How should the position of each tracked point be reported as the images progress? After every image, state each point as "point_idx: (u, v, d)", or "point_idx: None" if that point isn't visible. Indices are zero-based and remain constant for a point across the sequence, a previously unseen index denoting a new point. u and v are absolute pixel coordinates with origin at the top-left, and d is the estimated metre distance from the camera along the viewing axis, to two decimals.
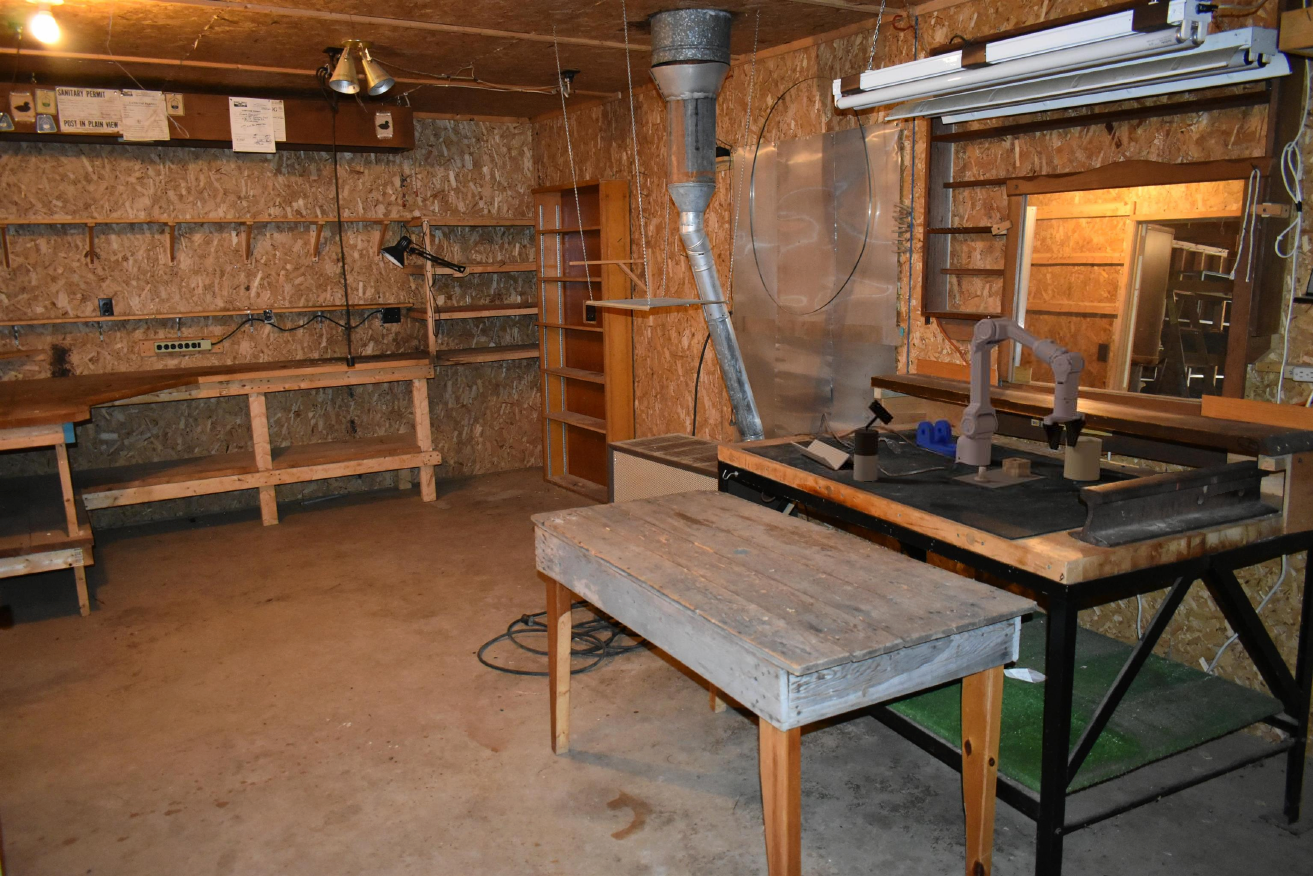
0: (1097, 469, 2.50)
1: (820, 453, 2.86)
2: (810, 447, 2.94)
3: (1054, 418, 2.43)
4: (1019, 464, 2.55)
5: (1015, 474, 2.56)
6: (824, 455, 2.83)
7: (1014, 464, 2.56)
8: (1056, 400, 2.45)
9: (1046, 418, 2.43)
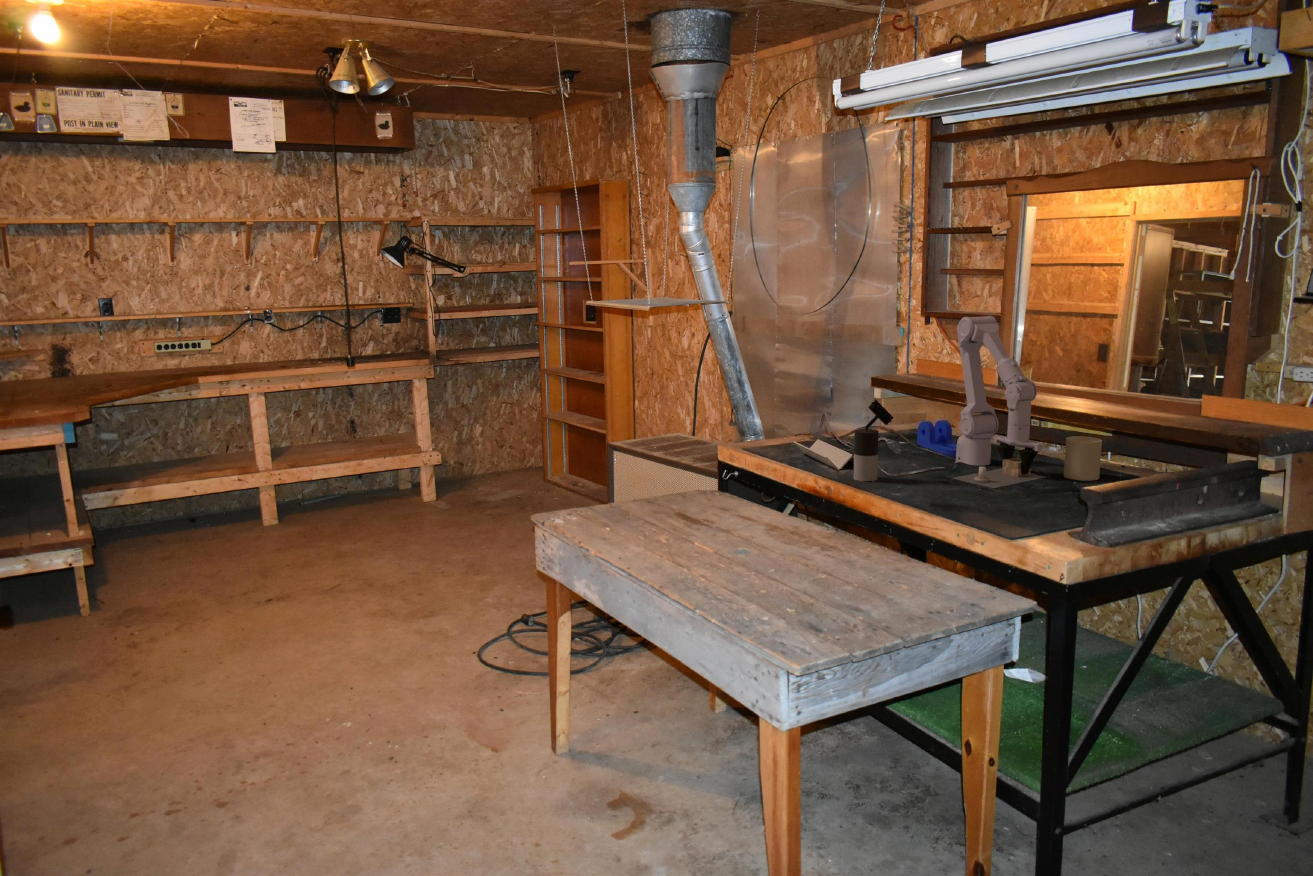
0: (1097, 469, 2.50)
1: (823, 453, 2.86)
2: (813, 447, 2.94)
3: (997, 438, 2.61)
4: (1019, 464, 2.55)
5: (1015, 474, 2.56)
6: (827, 455, 2.84)
7: (1014, 464, 2.56)
8: None
9: None
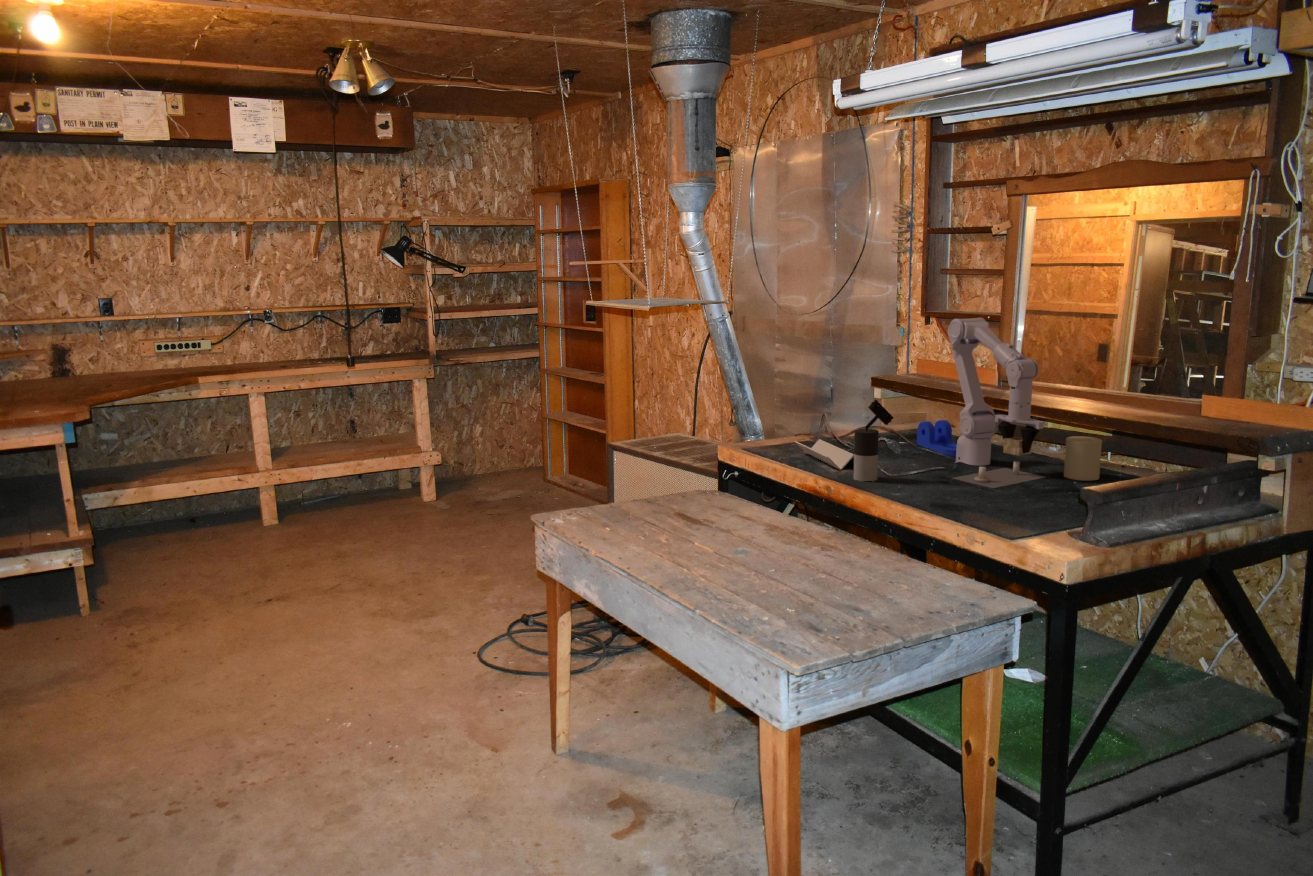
0: (1097, 469, 2.50)
1: (824, 453, 2.87)
2: (814, 447, 2.95)
3: (998, 417, 2.60)
4: (1020, 443, 2.54)
5: (1016, 453, 2.55)
6: (828, 455, 2.84)
7: (1015, 442, 2.54)
8: None
9: None
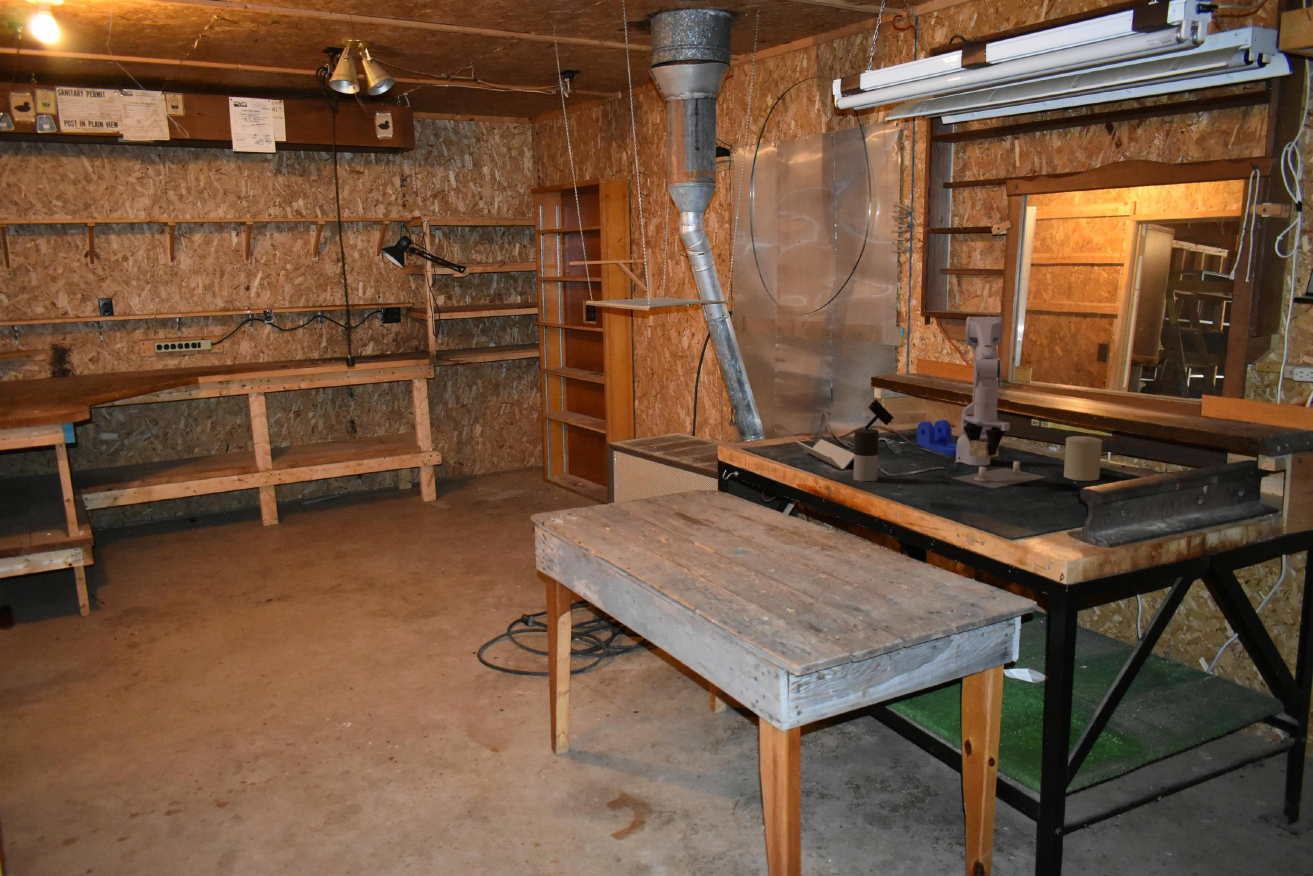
0: (1097, 469, 2.50)
1: (826, 453, 2.87)
2: (816, 447, 2.95)
3: (964, 418, 2.53)
4: (987, 445, 2.47)
5: (983, 455, 2.47)
6: (830, 455, 2.84)
7: (982, 444, 2.47)
8: None
9: None
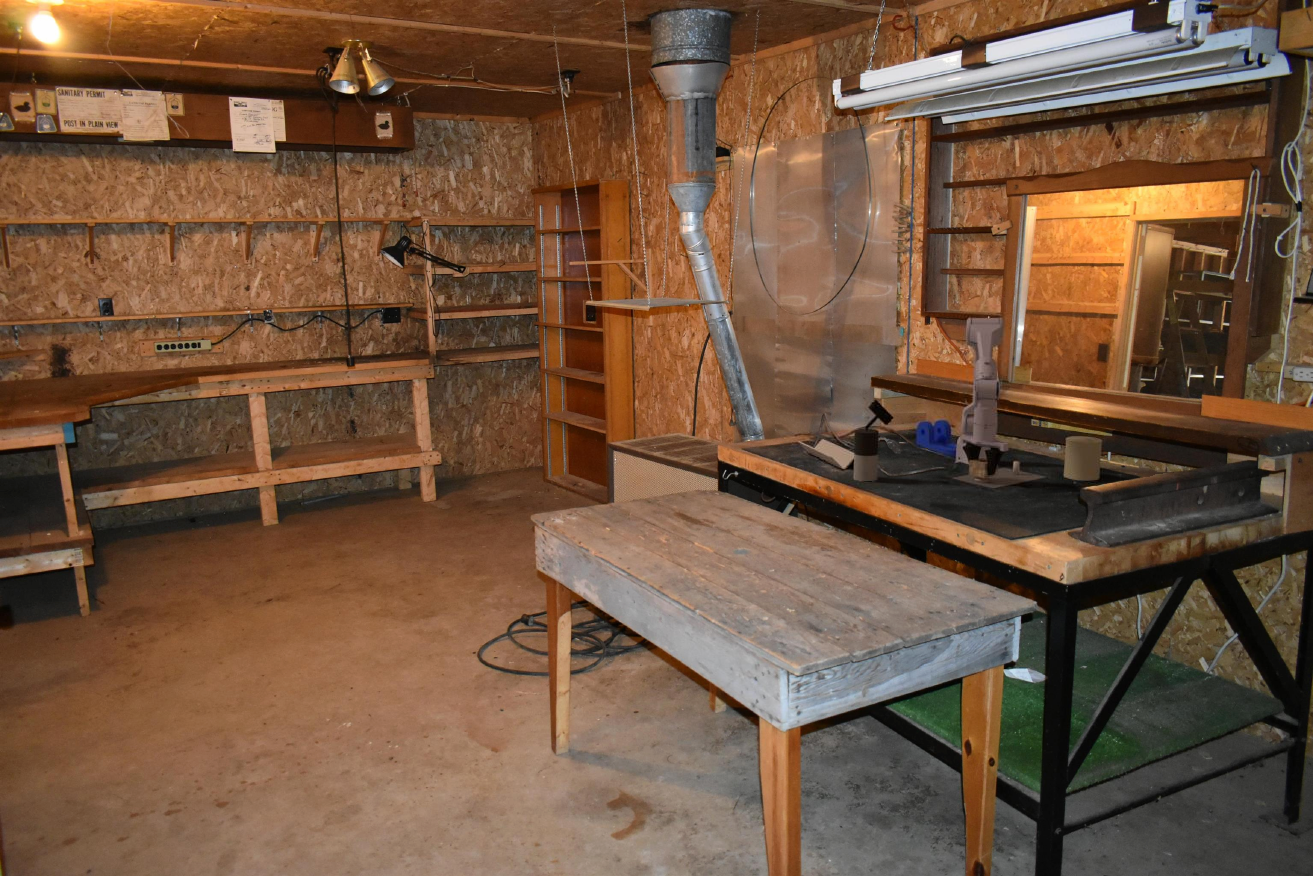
0: (1097, 469, 2.50)
1: (827, 452, 2.87)
2: (817, 446, 2.95)
3: (963, 438, 2.54)
4: (986, 465, 2.48)
5: (982, 475, 2.48)
6: (831, 454, 2.84)
7: (981, 464, 2.48)
8: None
9: None
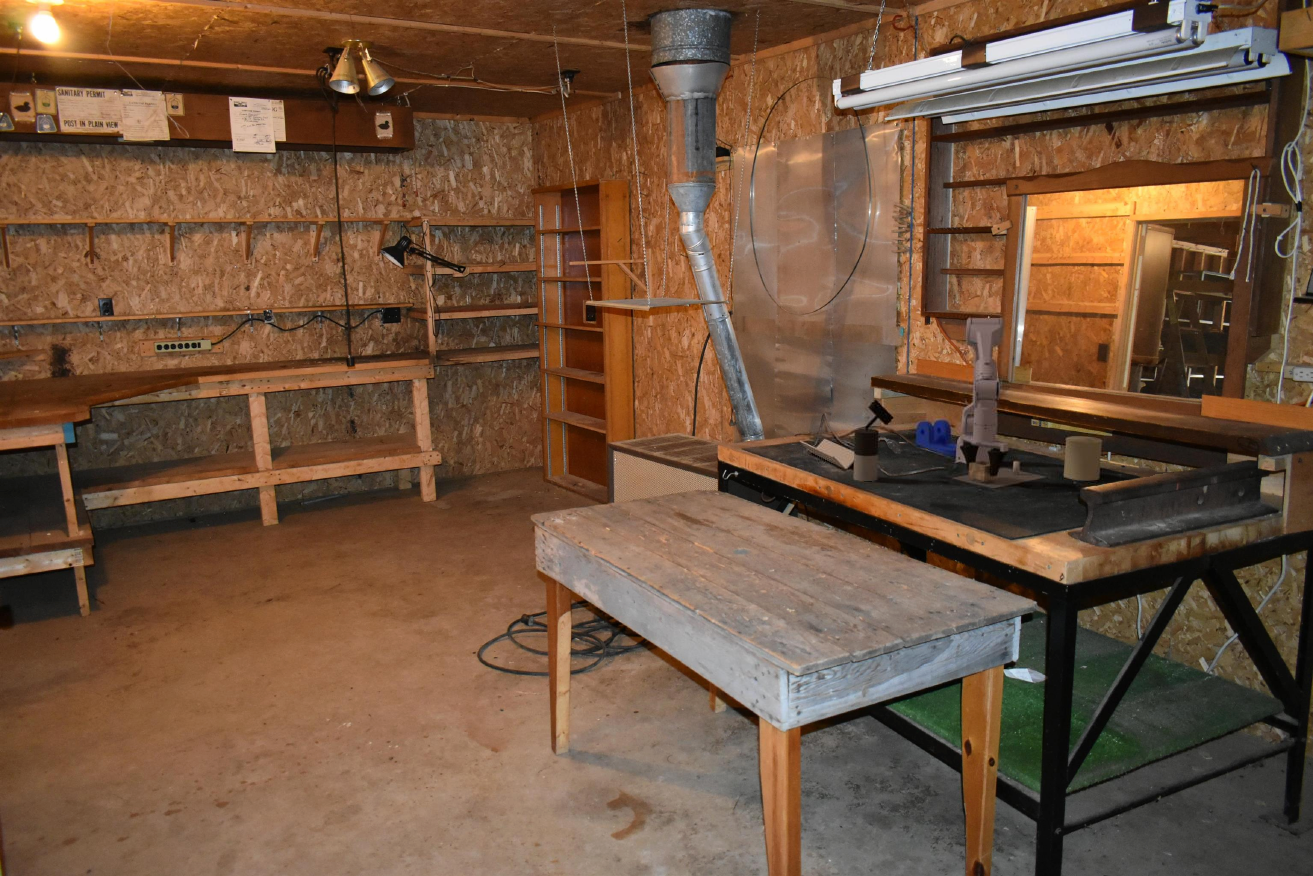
0: (1097, 469, 2.50)
1: (829, 452, 2.87)
2: (819, 446, 2.95)
3: (963, 438, 2.54)
4: (985, 468, 2.48)
5: (981, 478, 2.49)
6: (833, 454, 2.84)
7: (980, 467, 2.49)
8: None
9: None
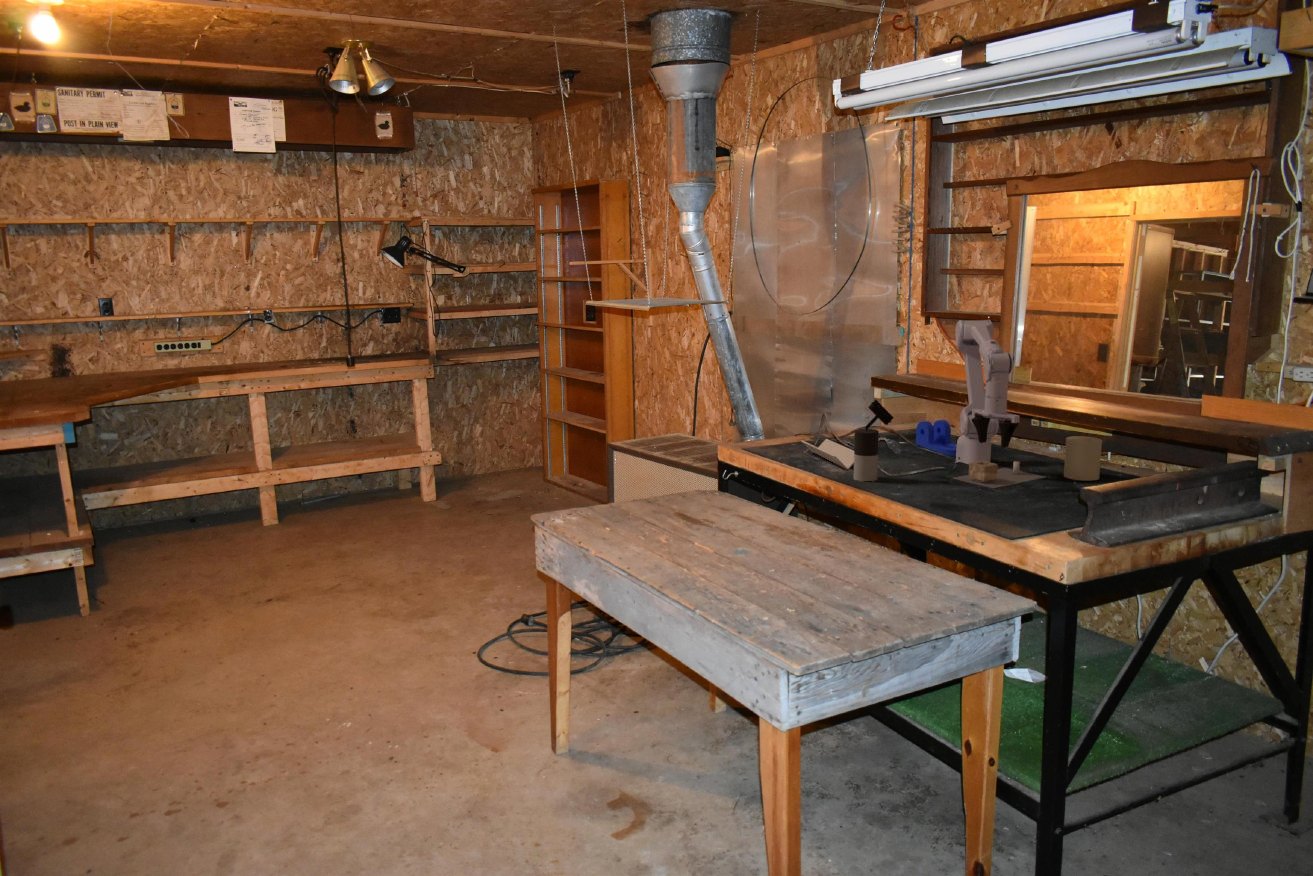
0: (1097, 469, 2.50)
1: (831, 452, 2.87)
2: (821, 446, 2.95)
3: (975, 411, 2.61)
4: (985, 468, 2.48)
5: (981, 478, 2.49)
6: (835, 454, 2.84)
7: (980, 467, 2.49)
8: None
9: None
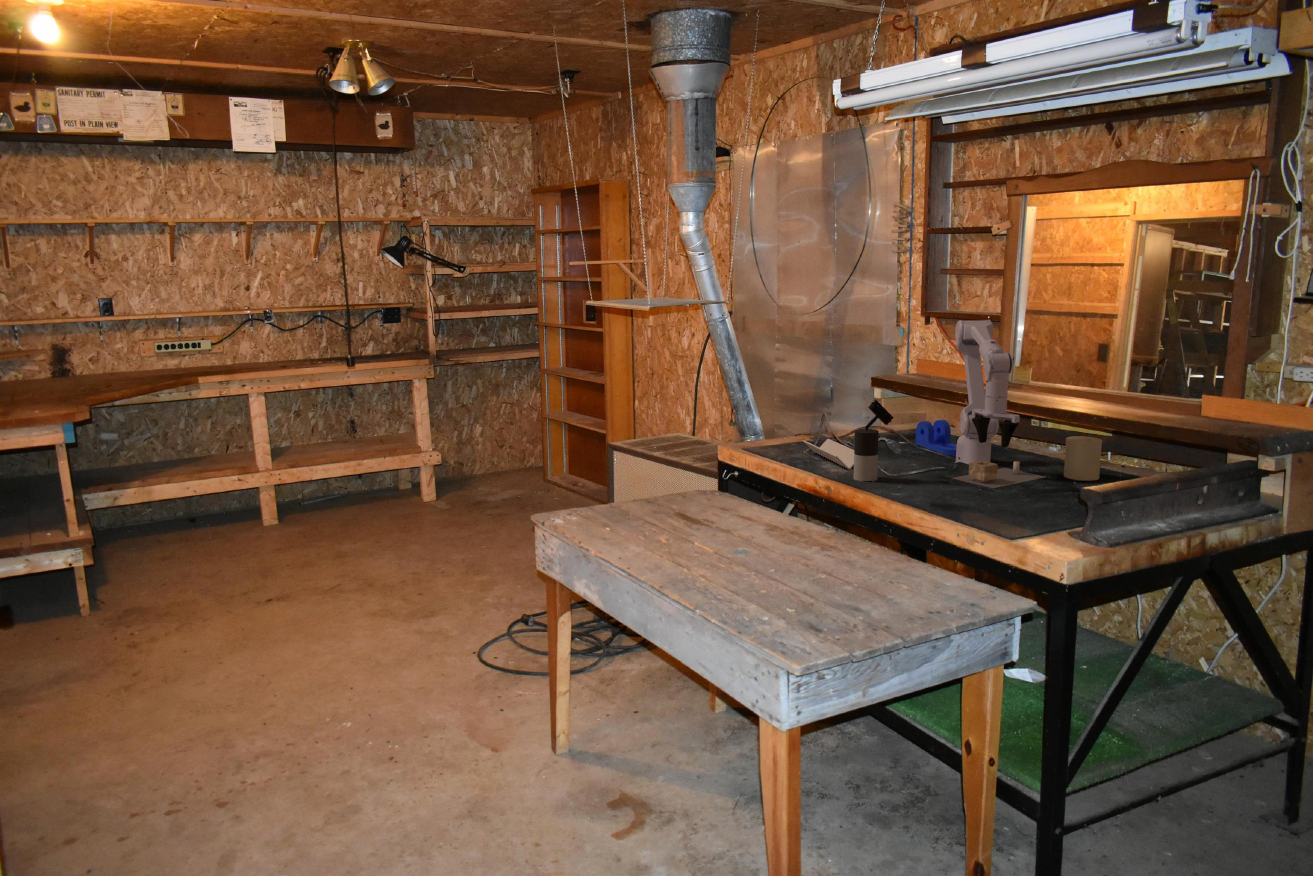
0: (1097, 469, 2.50)
1: (833, 452, 2.87)
2: (823, 446, 2.95)
3: (975, 411, 2.61)
4: (985, 468, 2.48)
5: (981, 478, 2.49)
6: (837, 454, 2.84)
7: (980, 467, 2.49)
8: None
9: None
